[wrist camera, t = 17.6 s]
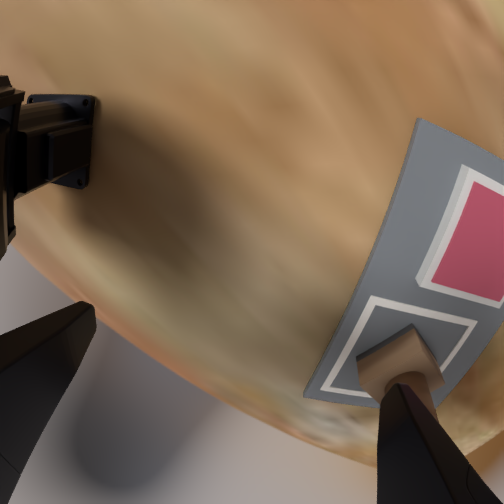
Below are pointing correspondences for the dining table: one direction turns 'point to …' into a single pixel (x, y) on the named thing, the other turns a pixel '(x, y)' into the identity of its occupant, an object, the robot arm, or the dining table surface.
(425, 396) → the walnut stamp
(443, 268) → the stamping board
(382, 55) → the dining table surface
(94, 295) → the dining table surface
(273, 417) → the dining table surface
